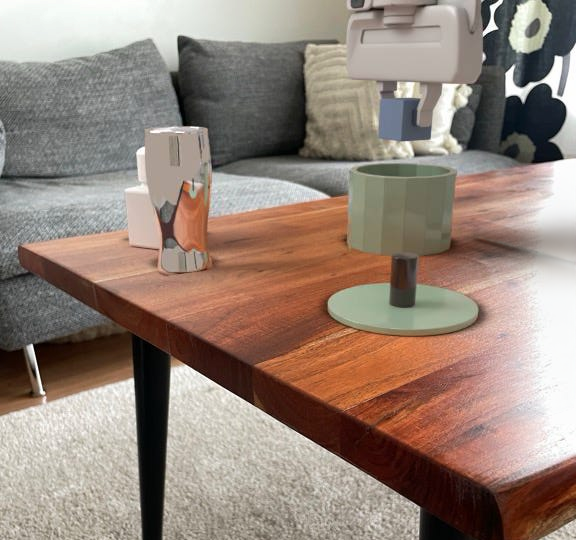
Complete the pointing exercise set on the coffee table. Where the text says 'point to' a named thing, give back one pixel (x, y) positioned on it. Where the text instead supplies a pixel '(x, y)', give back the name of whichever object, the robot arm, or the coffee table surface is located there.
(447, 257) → the coffee table surface
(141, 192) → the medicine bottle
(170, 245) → the beer glass
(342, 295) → the lid
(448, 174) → the tin
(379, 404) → the coffee table surface
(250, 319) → the coffee table surface
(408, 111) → the block
